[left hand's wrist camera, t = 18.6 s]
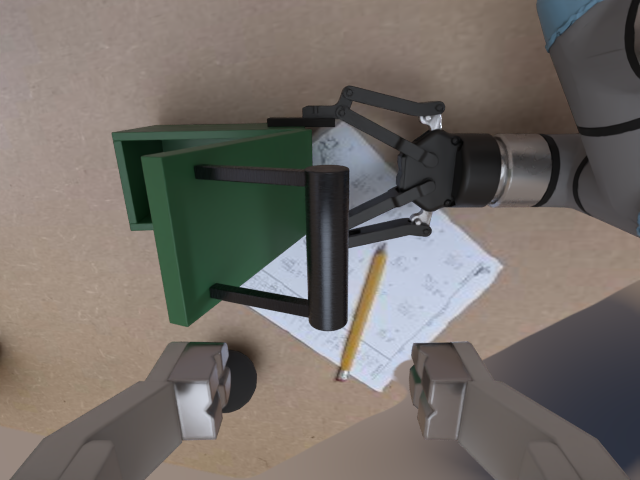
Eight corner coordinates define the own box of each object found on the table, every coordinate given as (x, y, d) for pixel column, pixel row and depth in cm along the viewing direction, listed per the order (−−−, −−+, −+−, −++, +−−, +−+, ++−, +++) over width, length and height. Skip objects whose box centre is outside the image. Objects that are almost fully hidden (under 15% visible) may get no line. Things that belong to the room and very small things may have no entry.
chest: (167, 202, 46) (130, 231, 36) (154, 125, 43) (111, 132, 33) (306, 199, 47) (307, 225, 37) (303, 122, 44) (305, 128, 34)
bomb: (269, 350, 54) (255, 416, 43) (248, 390, 57) (231, 463, 45) (217, 330, 53) (189, 392, 42) (198, 372, 55) (167, 441, 44)
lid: (169, 323, 21) (330, 361, 17) (139, 156, 18) (329, 164, 14) (301, 227, 36) (400, 238, 33) (298, 129, 33) (407, 130, 30)
